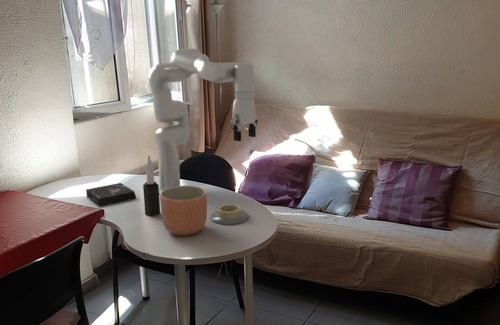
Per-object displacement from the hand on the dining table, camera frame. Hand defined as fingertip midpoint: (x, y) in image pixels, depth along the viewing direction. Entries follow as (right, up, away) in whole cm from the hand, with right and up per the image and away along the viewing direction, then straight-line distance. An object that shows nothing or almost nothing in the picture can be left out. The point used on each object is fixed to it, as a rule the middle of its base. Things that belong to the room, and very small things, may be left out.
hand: (244, 138), depth 178 cm
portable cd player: (-62, -26, +27) cm, 72 cm away
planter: (-22, -35, -10) cm, 43 cm away
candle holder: (-6, -32, +2) cm, 33 cm away
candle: (-38, -31, +7) cm, 50 cm away
